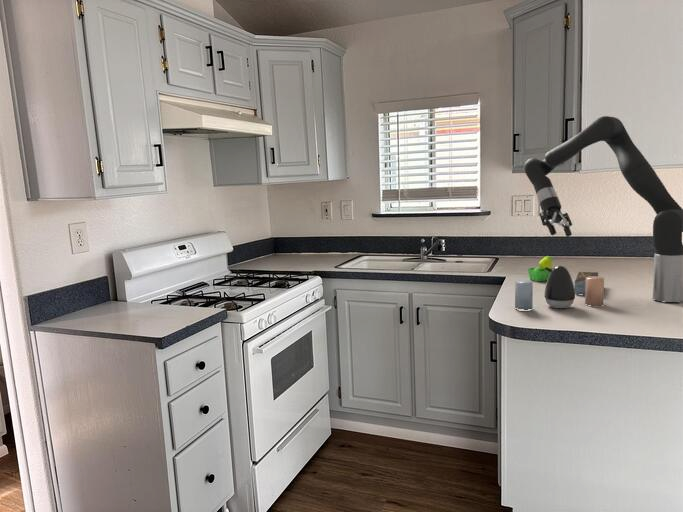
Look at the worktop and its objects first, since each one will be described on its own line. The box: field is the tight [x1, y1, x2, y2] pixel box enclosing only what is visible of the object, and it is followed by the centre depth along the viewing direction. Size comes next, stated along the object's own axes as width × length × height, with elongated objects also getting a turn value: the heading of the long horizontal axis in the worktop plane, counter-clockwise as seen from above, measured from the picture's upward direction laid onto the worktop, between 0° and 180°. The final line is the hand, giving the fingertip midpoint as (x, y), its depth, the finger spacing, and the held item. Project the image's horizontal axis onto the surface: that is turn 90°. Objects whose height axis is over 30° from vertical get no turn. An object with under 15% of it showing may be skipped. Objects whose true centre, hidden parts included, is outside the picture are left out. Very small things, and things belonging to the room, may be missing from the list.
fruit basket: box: [526, 255, 554, 282], centre depth 234 cm, size 11×9×11 cm
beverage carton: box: [574, 271, 599, 296], centre depth 211 cm, size 8×19×7 cm, turn 151°
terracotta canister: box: [584, 276, 605, 307], centre depth 188 cm, size 6×6×10 cm
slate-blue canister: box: [514, 279, 534, 310], centre depth 187 cm, size 6×6×10 cm
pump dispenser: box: [544, 265, 576, 309], centre depth 187 cm, size 10×10×15 cm
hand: (561, 235), depth 208 cm, fingers open, 8 cm apart
